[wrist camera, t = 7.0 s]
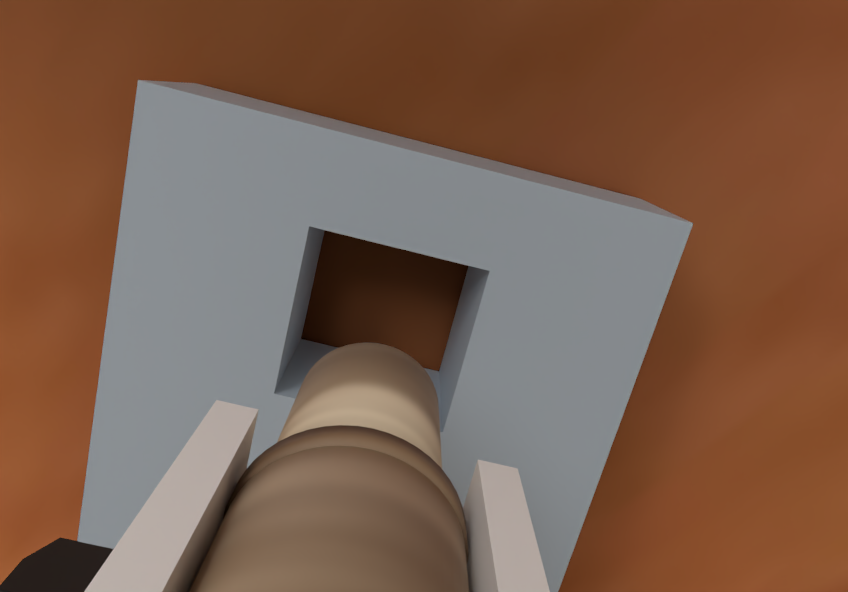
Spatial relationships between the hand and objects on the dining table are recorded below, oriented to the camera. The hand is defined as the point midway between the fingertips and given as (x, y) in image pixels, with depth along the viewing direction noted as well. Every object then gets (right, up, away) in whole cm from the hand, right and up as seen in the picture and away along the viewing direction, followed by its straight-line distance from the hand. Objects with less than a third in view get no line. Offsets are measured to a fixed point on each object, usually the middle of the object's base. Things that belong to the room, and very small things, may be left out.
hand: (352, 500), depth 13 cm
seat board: (-1, 0, +14) cm, 14 cm away
